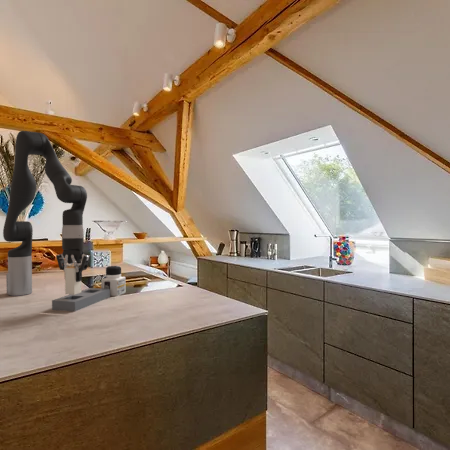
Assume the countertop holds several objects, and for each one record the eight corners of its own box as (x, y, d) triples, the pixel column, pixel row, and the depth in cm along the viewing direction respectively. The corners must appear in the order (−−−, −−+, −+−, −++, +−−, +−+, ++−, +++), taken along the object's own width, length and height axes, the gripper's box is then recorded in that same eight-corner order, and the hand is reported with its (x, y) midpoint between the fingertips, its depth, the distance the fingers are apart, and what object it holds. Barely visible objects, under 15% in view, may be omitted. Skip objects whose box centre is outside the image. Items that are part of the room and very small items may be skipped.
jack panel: (52, 311, 120) (52, 300, 120) (89, 296, 141) (89, 287, 141) (75, 312, 118) (75, 301, 118) (110, 298, 139) (109, 289, 139)
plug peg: (65, 294, 123) (64, 266, 122) (72, 291, 126) (72, 265, 126) (74, 294, 122) (74, 266, 121) (81, 292, 125) (81, 265, 125)
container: (117, 297, 141) (116, 267, 141) (101, 296, 142) (100, 267, 142) (125, 293, 148) (125, 265, 148) (110, 292, 150) (110, 264, 150)
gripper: (49, 237, 122) (50, 282, 122) (82, 237, 118) (82, 284, 119) (64, 236, 129) (64, 278, 129) (95, 236, 126) (95, 280, 126)
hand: (73, 281), depth 124 cm, fingers closed on plug peg, 4 cm apart
